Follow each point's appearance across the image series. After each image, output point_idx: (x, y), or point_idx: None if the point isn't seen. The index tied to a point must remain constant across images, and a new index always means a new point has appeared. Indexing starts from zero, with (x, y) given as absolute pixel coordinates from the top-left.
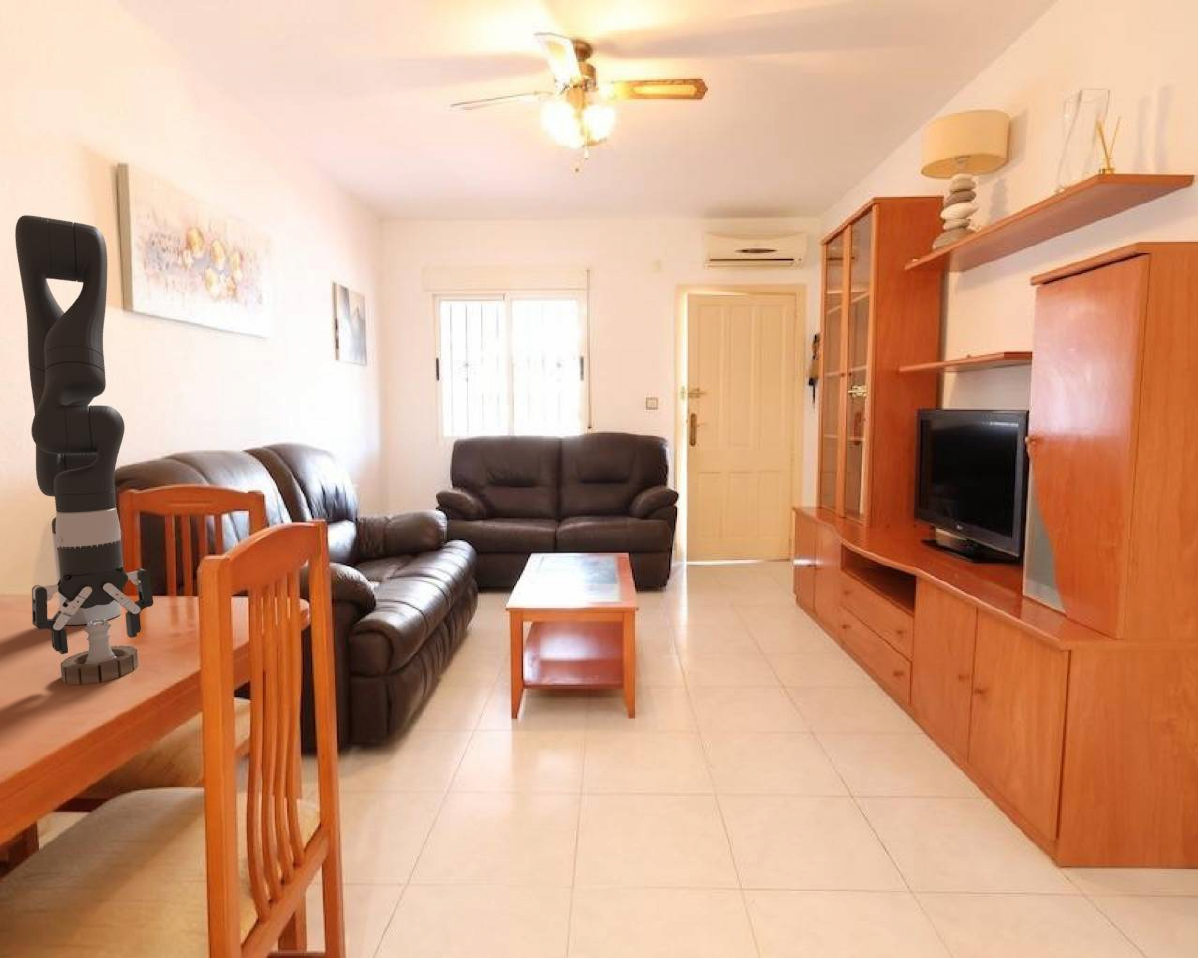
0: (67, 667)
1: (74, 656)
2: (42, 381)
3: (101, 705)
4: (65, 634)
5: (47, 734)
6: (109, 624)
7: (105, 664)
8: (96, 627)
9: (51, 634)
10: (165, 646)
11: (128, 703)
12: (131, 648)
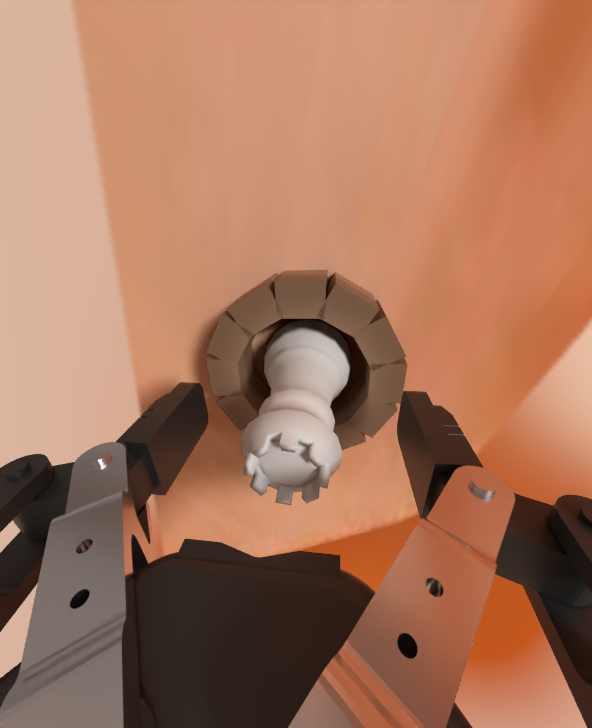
0: (219, 403)
1: (244, 317)
2: None
3: (265, 516)
4: (173, 475)
5: None
6: (331, 473)
7: None
8: (277, 486)
9: (125, 437)
10: (547, 257)
11: (298, 536)
12: (395, 380)
